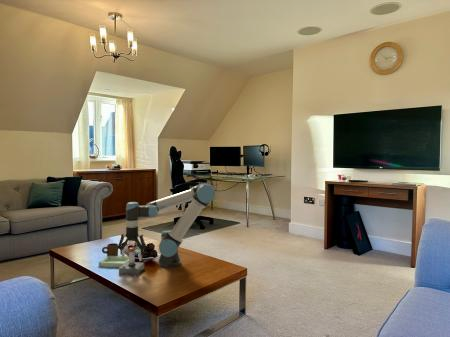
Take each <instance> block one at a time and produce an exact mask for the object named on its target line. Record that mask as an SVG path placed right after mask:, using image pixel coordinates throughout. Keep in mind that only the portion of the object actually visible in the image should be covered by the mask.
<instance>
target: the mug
mask: <svg viewBox="0 0 450 337" xmlns="http://www.w3.org/2000/svg"><path fill="white" fill-rule="evenodd" d="M118 245H119V243H115V242H114V243H113V242H112V243H108V244H107V245H106V246H103V247H102V249H101V252H102V253H103V254H106V257H107V256H119V249H118ZM105 249H106V250H105Z"/></svg>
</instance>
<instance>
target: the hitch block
mask: <svg viewBox="0 0 450 337" xmlns="http://www.w3.org/2000/svg"><path fill="white" fill-rule="evenodd" d="M144 269H145V262H141V261H139V262H138V261H137V262H136V261H135V266H134V267H129V262H126V263H125V264H123V265H122V266H121V267H120V268H118V275H122V276H138V275H139V274H140V273H141V272H142V271H143V270H144Z"/></svg>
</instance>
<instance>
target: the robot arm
mask: <svg viewBox="0 0 450 337" xmlns="http://www.w3.org/2000/svg"><path fill="white" fill-rule="evenodd" d="M215 197H216V190H215V188H214V186H213V185H212V184H210V183H208V182H202V183H199V184H197V185H194V186H193V187H191V188H190V189H187V190H184V191H181V192H179V193H175V194H173V195H170V196H166V197H163V198H159V199H157V200H153V201H149V202H147V203H146V204H145V205H139V202H136V201H131V202H130V201H129V202H127V203H126V208H125V219H126V220H125V233H121V235H120V239H119V243H118V250H119V251H120V255H121V256H122V260H124V259H125V257H126V256H125V255H126V254H125V247H126V245H127V244H128V242H135V244H136V245H137V247H138V248H139V251H138V252H139V253H138V254H139V257H138V258H139V262H141V261H142V260H143V256H144V251H145V250H147V246H146V245H147V244H146V243H145V239H144V234H143V233H142V234H139V218H156V217H157V216H158V212H161V211H163V210H166V209H169V208H172V207H175V206H178V205H182V204H184V203H185V204H186V203H188V202H190V203H189V205H188V206H187V208H186V209H185V210H184V212H183V214H182V215H181V216H180V217H179V219H178V221H177V222H176V224H175V225H174V226H173V228H172V229H171V230H163V231H161V235H160V236H161V237H160V238H161V239H160V242H159V245H158V251H159V253H160V255H159V259H158V266H160V267H164V268H174V267H177V266H180V264H181V258H180V254H179V247H180V246H181V244H182V243H183V237H184V236H185V234H186V233H187V232H188V230H189V229H190V228H191V226H192V225H193V223H194V222H195V220H196V219H197V217H198V216H199V214H200V213H201V212H202V210H203V209H205V208H207V207H208V206H209V204H210V203H211V202H212V201H213V200H214V199H215ZM125 238H126V239H125ZM124 239H125V240H124Z"/></svg>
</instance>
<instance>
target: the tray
mask: <svg viewBox="0 0 450 337" xmlns="http://www.w3.org/2000/svg"><path fill="white" fill-rule="evenodd" d="M126 262H129V256H125V259H124V260H122V255H121V256H119V255H118V256H107V255H106V257H104V258H103V259H101V260H100V261H98V268H118V269H119V268H120V267H121V266H122V265H123V264H125V263H126Z"/></svg>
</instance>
